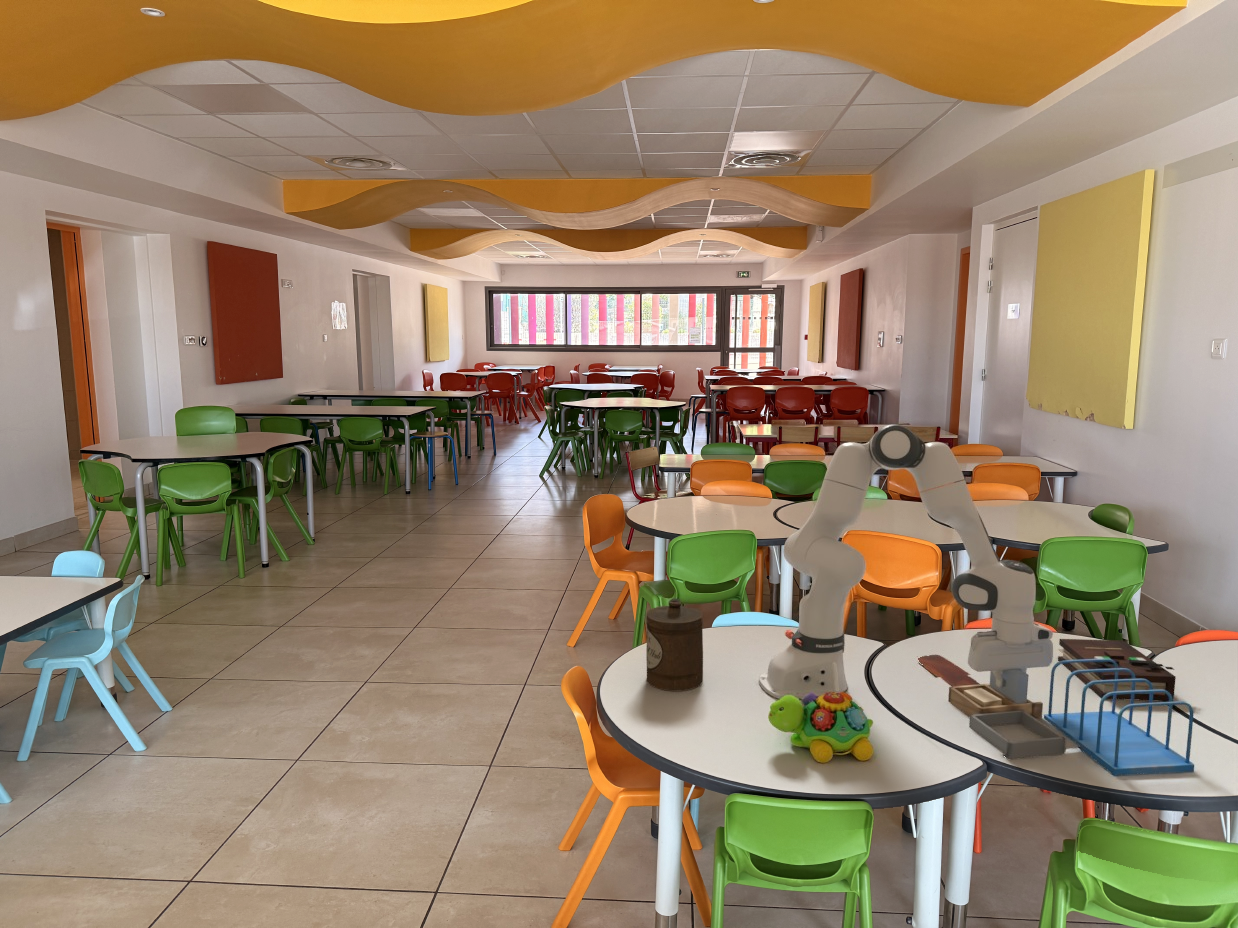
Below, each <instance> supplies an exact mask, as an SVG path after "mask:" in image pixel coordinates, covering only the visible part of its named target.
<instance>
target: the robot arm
mask: <svg viewBox="0 0 1238 928" xmlns="http://www.w3.org/2000/svg"><path fill="white" fill-rule="evenodd" d="M903 469H904V470H906V471H908V472H909V473H910V475H912V477H913V479H914V481H915V484H916V488H917V490H918V492H919V496H920V499H921V502H922V505H923V506H924V509H925V510H926V512H927V513H928V516H929V517H931V518H932V519H933V520H935V521H937V522H939V523H942V524H945V525H948V526H949V527H951V528H952V529H953V530H955V532H956V533H957V534H958V535H959V537H960V540H961V542H962V544H963V547H964V549H965V551H966V553H967V556H968V558H969V560H970V565H971V566H970V568H969V569H967V570H965V571H964V572H961V573H960V574H958V575H957V576H956V577H955V578H954V579H953V582H952V585H951V593H952V596H953V599H954V600H955V602H956V603H957V605H959V606H960V607H962V608H963V609H966V610H969V611H979V612H981V611H983V612H989V611H990V612H991V614H992V616H991V630H988V631H987V630H986V631H978V632H977V633H976V634H974V635H972V637H971V639H970V647H969V651H968V656H967V664H968V666H969V667H970V668H971V669H972V670H974V671H976V672H979V673H982V672H991V671H992V672H993V674H994V676H995V678H996V685H997V686H998V687H1005V686H1006V684H1005V683H1006V680H1005V679H1003V678H1002V677H1001V675H1000V674H1003V670H1009V669H1020V670H1021V671H1023V672H1025V673H1027V669H1031V668H1032V669H1034V668H1046V667H1050V665H1051V664H1052V663H1053V658H1054V643H1053V641H1052V640H1051V639H1052V638H1053V635H1054V633H1053V631H1052V630H1051V629H1050V628H1047V627H1046V626H1044V625H1043V624H1042V625H1041V624H1039V623H1037V622H1036V621H1035V619H1034V612H1033V609H1034V606H1035V605H1036V604H1035V603H1036V585H1037V584H1036V576H1035V572H1034V570H1033V569H1032V568H1031V567H1030V566H1028V565H1027V564H1026V563H1023V562H1021V561H1018V560H1013V559H1011V560H1010V559H1002V560H1001V559H1000V557H999V556H998V553H997V551H996V549H995V547H994V545H993V543H992V540H991V537H990V535H989V533H988V531H987V528H986V525H985V523H984V521H983V520H982V517H981V515H980V513H979V511H978V509H977V506H975V502H974V501H973V498H972V496H971V493H970V489H969V487H968V485H967V481H966V480H965V476H964V473H963V471H962V468H961V466H960V464H959V462H958V460H957V458H956V456H955V455H954V452H953V451H952V449H951V448H950V446H948V445H947V444H946V443H944V442H940V441H932V442H931V441H930V442H927V443H926V442H925V441H924V440H923V439H921V438H920V437H919V436H917V434H916V433H914V432H913V431H912V430H911V429H910V428H907V427H906V426H904V425H901V424H895V423H893V424H892V423H891V424H888V425H887V424H886V425H885V426H883V427H881V428H880V429H878V430H877V431H876V432H875V433H874V434H873V435H872V437H871V438H869V441H867V442H866V443H860V442H856V441H855V442H853V441H851V442H844V443H842V444H840V445H839V446H838V447H837V448H836V450H835V452H834V454H833V456H832V458H831V460H830V462H829V464H828V466H827V469H826V472H825V475H824V478H823V481H822V484H821V487H820V491H819V493H818V496H817V499H816V502H815V505H814V508H813V510H812V512H810V515H809V516H808V518H807V519H806V521H805V522H804V523H803V525H802V526H801V527H800V528H799V529H798V530H797V531H795V532H793V533H792V534H790V535H789V536H788V537H787V539H786V540H785V543H784V545H783V549H782V551H783V557H784V559H785V561H786V562H787V563H788V564H789V565H790V566H791V567H792V568H794V569H795V570H796V571H797V572H799V573H801V574H804V575H806V576H809V577H810V578H811V581H812V583H811V585H810V586H811V587H810V590H809V593H807V594H805V595H804V596H803V597H802V598H801V599H800V602H799V604H798V605H799V612H798V614H799V615H798V628H797V630H796V631H795V632H793V630H791V629H786V631H784V636H785V637H786V638H787V639H789V640H791V643H790V644H789V645H788V646H787V647H785V648H784V649H782V650H781V651H779V652H778V653H777V654H776V655H774V656H773V657H772V658H771V659H770V660H769V663H768V669H767V673H762V674H760V675H759V677H758V684H759V685H760V687H761V688H762V689H763V691H764V692H766V693H767V694H768V695H770V696H772V697H774V698H776V699H778V700H780V699H781V698H782V697H784V696H786V695H792V696H794V697H796V698H798V699H799V700H803V698H804V697H805V696H807V695H808V694H810V693H814V694H815V695H816V696H818V695H819V696H822V695H825V694H826V693H829V692H835V693H840V692H844V693H845V692H846V690H847V689H848V682H847V678H846V674H845V666H844V665H845V664H844V653H845V641H846V640H845V632H844V615H845V605H846V601H847V599H848V595H849V593H850V591H851V590H852V589H853V587H855V586H857V585H858V584H859V583H860V582H861V581H862V580H863V578H864V576H865V574H866V569H867V562H866V559H865V557H864V555H863V554H862V552H860V551H859V550H857V549H856V548H855V547H853V546H851V545H850V544H848V543H846V542H843V541H839V539H840V537H841V536H842V535H843V533H844V531H846V529H848V528H849V527H850V526H853V525H854V524H856V523H857V522H858V521H859V519H860V516H861V513H862V511H863V507H864V503H865V499H866V496H867V493H868V491H869V486H870V482H871V480H872V478H873V476H874V474H875V473H876V472H877V471H896V470H903Z"/></svg>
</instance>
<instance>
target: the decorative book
mask: <svg viewBox="0 0 1238 928" xmlns="http://www.w3.org/2000/svg"><path fill="white" fill-rule="evenodd" d="M1058 643H1059V646H1060V647H1062V649H1061V648H1060V649H1059V648H1058V649H1057V651H1059V652H1060V653H1061V654H1062V656H1060V655H1059V656H1058V659H1057V661H1058V662H1059V661H1064V660H1083V659H1112V660H1113V661H1115V662H1116V663H1117V665H1118V668H1127V669H1129V670H1131V671H1132V672H1133V673H1134V674H1135V678H1136V679H1146V680H1148V681H1150V682H1151V683H1152V685H1153V690H1159V689H1160V690H1165V691H1167V692H1169V693H1170V694H1171V696H1172V698H1173V701H1174V700H1175V689H1176V687H1175V686H1176V678H1177V677H1176V676H1175V675H1174V674H1173V673H1171V671H1168V670H1173V671H1174V670H1175V668H1174V667H1172V666H1164V665H1163V664H1162V663H1157V662H1155V661H1154V660H1152V659H1151V658H1149V657H1148V656H1147V655H1145V654H1143V652H1141V651H1139V650H1138V649H1136V648H1135V647H1134V646H1132V644H1129V642H1127V641H1125V640H1121V639H1120V640H1116V639H1115V640H1114V639H1083V638H1082V639H1081V638H1080V639H1079V638H1078V639H1077V638H1074V639H1073V638H1059V641H1058ZM1062 666H1064V668H1066V669H1067V670H1068V671H1069V672H1070V673H1072V672H1074V671H1077V670H1090V669H1115V665H1114V663H1113V662H1110V661H1106V662H1105V661H1103V662H1079V663H1063V664H1062ZM1074 676H1075V677H1076V678H1078V679H1079V680H1080V681H1081V682H1082V683H1083V684H1084V685H1085V686H1086V684H1088V683H1089V682H1091V681H1097V680H1115V671H1112V672H1089V673H1077V674H1075V675H1074ZM1118 679H1132V675H1131V673H1130V672H1128V671H1118ZM1088 689H1089V690H1091V691H1092V692H1093V693H1095V695H1096V696H1098V697H1099V698H1100V700H1101V699H1102V697H1103V696H1104V695H1105V694H1107V693H1109V692H1114V683H1099V684H1093V685H1091V686H1089V687H1088ZM1135 690H1150V686H1149V684H1148V683H1147V682H1135ZM1117 691H1132V682H1118V684H1117ZM1149 697H1150V693H1139V694H1134V699H1139V700H1138V701H1149ZM1124 699H1131V694H1119V695H1116V700H1124ZM1105 700H1113V695H1111V696H1109V697H1107V698H1106V699H1105ZM1153 700H1158V701H1157V702H1163V701H1162V700H1165V701H1164V702H1169V697H1168V695H1167V694H1166V693H1153Z"/></svg>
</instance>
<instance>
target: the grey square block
mask: <svg viewBox="0 0 1238 928" xmlns="http://www.w3.org/2000/svg"><path fill="white" fill-rule="evenodd" d="M989 673H990V675H989V683H990V687H991V688H993V689H994V690H996V691H997V692H999V693H1000V694H1002V695H1004V696H1005V697H1007V698H1008V699H1010V700H1011V701H1013V702H1014V703H1016V704H1022V703H1027V699H1028V690H1029V689H1028V688H1029V687H1028V686H1029V673H1027V672H1026V673H1025V672H1023V671H1021V670H1020V669H1009V670H1003V674H1000V675H1001V677H1002V678H1003V679H1005V680H1006V683H1005V684H1006V686H1005V687H998V686H997V685H996V678H995V676H994V674H993V672H992V671H989Z"/></svg>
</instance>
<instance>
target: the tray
mask: <svg viewBox="0 0 1238 928" xmlns="http://www.w3.org/2000/svg"><path fill="white" fill-rule="evenodd" d="M1018 724H1019V725H1020V724H1021V725H1023V726H1024V727H1025V728H1027V729H1029V730H1030V731H1032V732H1033V733H1034V734H1036V735H1037V736H1039V737H1041V738H1036V739H1027V740H1026V739H1025V740H1015V741H1010V740H1009V739H1007V738H1005V737H1004V736H1003V735H1001V734H1000V733H999V732H998V731H996V730H994V729H993V728H992V727H995V726H996V727H997V726H1008V725H1009V726H1010V725H1018ZM968 726H969V728H970V729H972V731H974V732H976V733H977V734H978V735H979V736H981V737H982V738H983V739H985V740H986V741H987V742H989V743H990V744H991V745H993V747H996V748H997V750H999V751H1000V752H1002V753H1003V754H1002V756H1003V757H1004V756H1005V757H1006V759H1007V760H1008V759H1011V760H1018V759H1017V758H1021V759H1030V758H1037V757H1047V756H1048V757H1050V756H1057V755H1065V751H1066V740H1067V738H1066V737H1065V736H1063V735H1062V734H1060V733H1058V732H1057V731H1056V730H1054V729H1053V728H1051V727H1050V726H1048V725H1046V724H1045V723H1044V722H1042V721H1040V720H1039V719H1036V718H1034V717H1032V716H1031V715H1029V714H1028V713H1026V712H1025V711H1023V710H1018V711H1007V712H997V713H986V714H975V715H970V717H969V723H968ZM1005 757H1004V758H1005Z"/></svg>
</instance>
